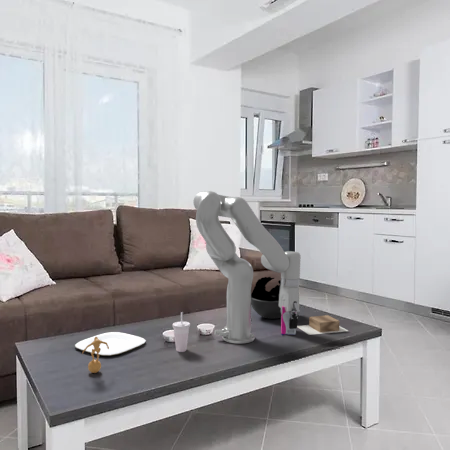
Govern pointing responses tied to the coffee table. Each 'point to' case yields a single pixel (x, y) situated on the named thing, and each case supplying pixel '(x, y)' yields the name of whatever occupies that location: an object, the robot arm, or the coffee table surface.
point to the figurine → (95, 364)
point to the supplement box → (286, 323)
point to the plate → (112, 343)
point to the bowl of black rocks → (266, 299)
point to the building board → (312, 331)
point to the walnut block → (324, 323)
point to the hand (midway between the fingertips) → (288, 325)
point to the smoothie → (181, 334)
